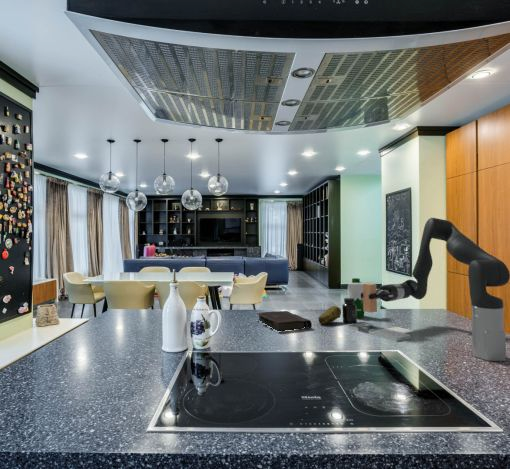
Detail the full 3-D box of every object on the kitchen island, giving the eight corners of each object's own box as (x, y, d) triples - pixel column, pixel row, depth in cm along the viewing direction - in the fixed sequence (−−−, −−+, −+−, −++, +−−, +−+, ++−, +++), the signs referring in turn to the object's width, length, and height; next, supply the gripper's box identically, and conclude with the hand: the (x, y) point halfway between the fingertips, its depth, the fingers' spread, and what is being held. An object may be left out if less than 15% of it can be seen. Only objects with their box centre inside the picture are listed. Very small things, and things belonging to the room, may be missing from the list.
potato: (313, 322, 177) (313, 306, 177) (337, 320, 180) (337, 304, 180) (321, 326, 169) (320, 309, 169) (345, 324, 172) (345, 307, 172)
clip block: (376, 311, 155) (376, 284, 155) (370, 312, 153) (369, 284, 153) (369, 310, 159) (369, 283, 159) (363, 311, 157) (362, 283, 157)
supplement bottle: (355, 321, 178) (355, 297, 178) (358, 324, 171) (357, 299, 171) (341, 321, 178) (341, 297, 179) (343, 324, 172) (343, 299, 172)
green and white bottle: (365, 315, 191) (364, 278, 192) (365, 319, 182) (364, 280, 183) (348, 314, 194) (347, 278, 194) (347, 318, 185) (346, 279, 185)
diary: (287, 319, 188) (287, 310, 188) (311, 330, 164) (311, 319, 164) (255, 322, 181) (255, 312, 181) (275, 333, 158) (275, 322, 158)
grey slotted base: (411, 340, 143) (411, 334, 143) (396, 343, 139) (396, 338, 139) (362, 327, 166) (362, 322, 166) (348, 329, 161) (348, 325, 161)
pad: (414, 332, 154) (414, 330, 154) (400, 335, 150) (400, 333, 150) (396, 328, 162) (396, 326, 162) (383, 331, 158) (383, 329, 158)
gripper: (379, 282, 169) (353, 285, 161) (404, 285, 157) (378, 289, 148) (379, 298, 169) (353, 302, 161) (405, 302, 157) (378, 307, 148)
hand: (365, 296), depth 155 cm, fingers closed on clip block, 4 cm apart
